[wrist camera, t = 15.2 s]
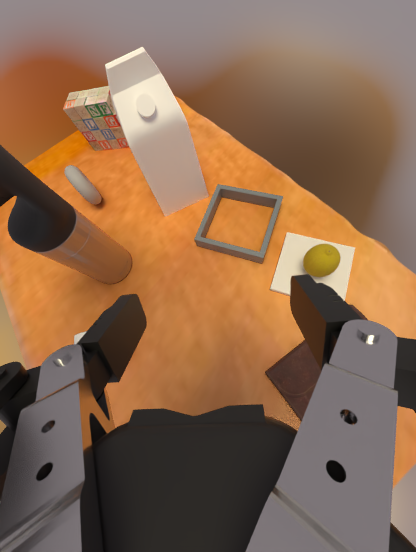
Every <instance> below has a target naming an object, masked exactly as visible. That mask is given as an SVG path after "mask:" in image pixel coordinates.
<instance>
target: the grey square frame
mask: <svg viewBox="0 0 416 552" xmlns="http://www.w3.org/2000/svg"><path fill="white" fill-rule="evenodd" d="M221 197H223V198H228V199H233V200H238V201H243V202H248V203H253V204H258V205H263V206H268V207H273V208H274V211H273V214H272V217H271V220H270V223H269V226H268V229H267V232H266V235H265V238H264V241H263V244H262V247H261V250H260V252H257V251H253V250H249V249H246V248H242V247H238V246H234V245H230V244H226V243H223V242H219V241H215V240H211V239H207V238H205V236H206V234H207V231H208V229H209V227H210V224H211V222H212V219H213V217H214V214H215V212H216V210H217V207H218V205H219V202H220V200H221ZM282 199H283V196H278V195H273V194H268V193H262V192H257V191H252V190H246V189H241V188H236V187H230V186H225V185H219V184H218V185H217V187H216V190H215V192H214V194H213V197H212V199H211V201H210V204H209V206H208V208H207V211H206V213H205V215H204V218H203V220H202V222H201V225H200V227H199V230H198V232H197V234H196V237H195V239H194V240H195V242H196V244H197V246H200V247H203V248H207V249H211V250H214V251H218V252H221V253H225V254H229V255H232V256H236V257H240V258H243V259H247V260H250V261H254V262H258V263H261V264H262V262H263V259H264V256H265V253H266V250H267V247H268V243H269V240H270V237H271V234H272V231H273V228H274V225H275V221H276V218H277V215H278V212H279V209H280V206H281V202H282Z"/></svg>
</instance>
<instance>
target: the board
mask: <svg viewBox="0 0 416 552" xmlns="http://www.w3.org/2000/svg"><path fill="white" fill-rule="evenodd" d="M319 244H330V245H332V246H334V247H335V248H336V249H337V250H338V251H339V253H340V257H341V258H340V263H339V266H338V267H337V269H336V270H335V271H334V272H333V273H331V274H330V275H328V276H325V277H314V276H311V275H310V274H309V275H310V276H311V277H312V278H313V280H314V281H315V282H316V283H323V284H325V285H327V286H329V287H331V288H333V289H334V290H335V292H336V293H337V294H338V295H339V296H340V297H341V298H342V299H343V301H345V296H346V291H347V286H348V281H349V276H350V271H351V266H352V261H353V256H354V251H355V248H354V247H350V246H345V245H341V244H337V243H332V242H328V241H323V240H319V239H315V238H310V237H306V236H302V235H297V234H293V233H288V232H287V234H286V237H285V240H284V244H283V247H282V251H281V254H280V257H279V261H278V264H277V267H276V271H275V274H274V277H273V281H272V284H271V287H270V290H272V291H275V292H278V293H281V294H285V295H288V296H290V281H291V276H295V275H303V274H308V273H307V272H306V271H305V269H304V266H303V259H304V256H305V254H306V253H307V251H308V250H310V249H311V248H312V247H314V246H316V245H319Z"/></svg>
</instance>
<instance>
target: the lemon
mask: <svg viewBox="0 0 416 552" xmlns="http://www.w3.org/2000/svg"><path fill="white" fill-rule="evenodd" d="M340 258H341V257H340V253H339V251H338V250H337V249H336V248H335V247H334V246H332V245H330V244H319V245H316V246H314V247H312V248H311V249H310V250H308V251H307V253H306V254H305V256H304V259H303V266H304V269H305V271H306V272H307V273H308V274H310V275H311V276H314V277H325V276H328V275H330V274H331V273H333V272H334V271H335V270H336V269H337V267H338V266H339V263H340Z"/></svg>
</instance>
